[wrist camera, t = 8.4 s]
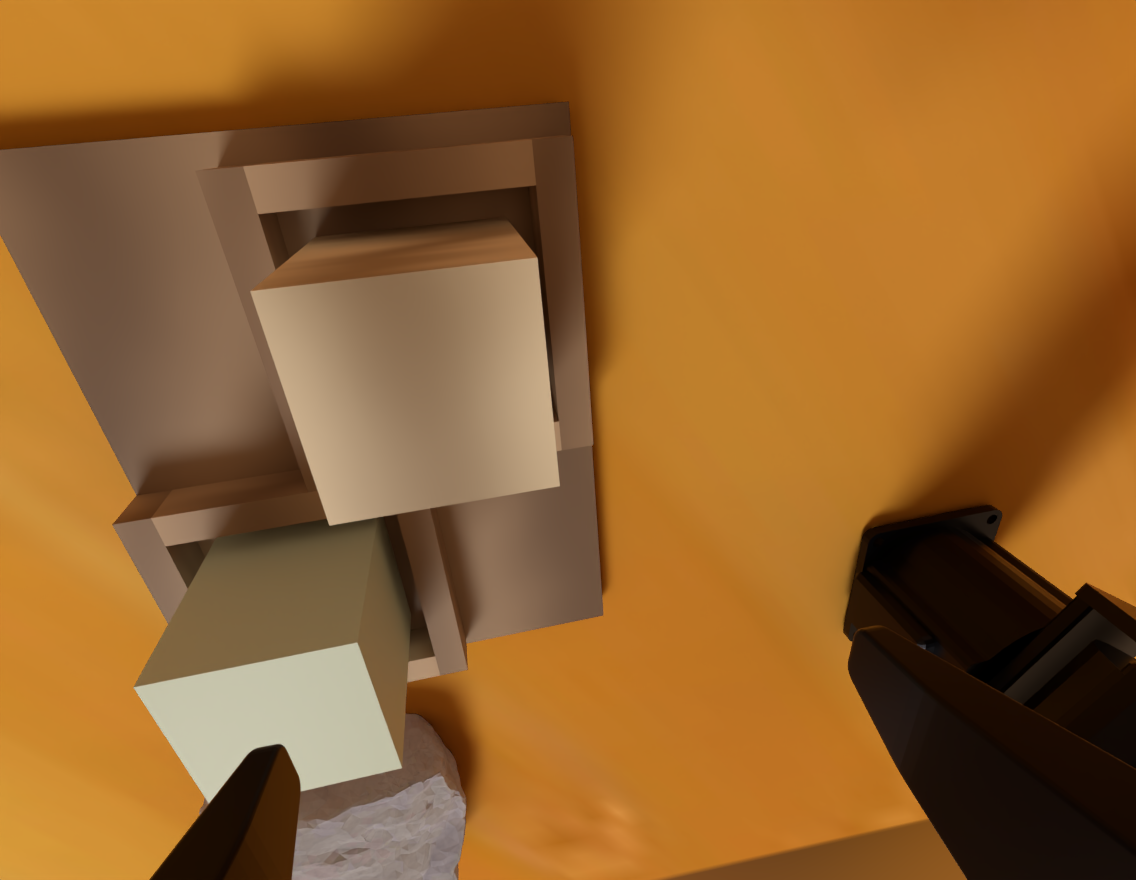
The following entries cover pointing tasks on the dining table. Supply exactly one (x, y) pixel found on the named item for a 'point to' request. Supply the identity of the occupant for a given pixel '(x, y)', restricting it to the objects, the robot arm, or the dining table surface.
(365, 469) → the oak block
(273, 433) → the walnut base board
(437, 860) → the stone block
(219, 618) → the sage block
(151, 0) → the dining table surface
